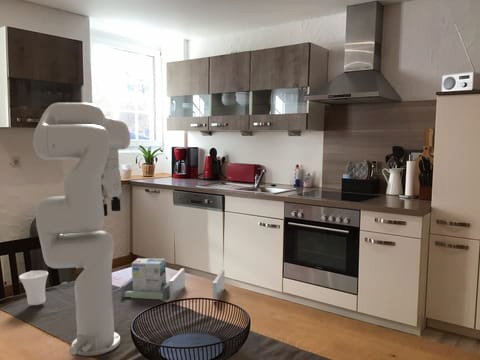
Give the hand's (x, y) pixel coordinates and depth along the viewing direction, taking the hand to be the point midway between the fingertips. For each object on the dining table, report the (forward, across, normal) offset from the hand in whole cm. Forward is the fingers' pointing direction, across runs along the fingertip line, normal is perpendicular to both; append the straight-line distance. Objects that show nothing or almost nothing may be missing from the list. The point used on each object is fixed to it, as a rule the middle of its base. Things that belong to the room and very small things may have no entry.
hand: (109, 213), depth 149 cm
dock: (+30, +6, -11) cm, 33 cm away
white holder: (+30, +6, -29) cm, 42 cm away
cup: (+29, -11, +22) cm, 38 cm away
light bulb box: (+29, +6, -11) cm, 32 cm away
